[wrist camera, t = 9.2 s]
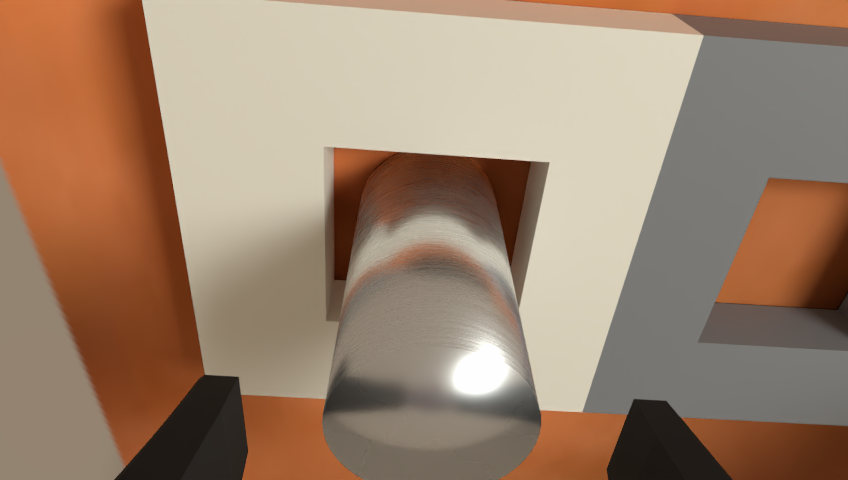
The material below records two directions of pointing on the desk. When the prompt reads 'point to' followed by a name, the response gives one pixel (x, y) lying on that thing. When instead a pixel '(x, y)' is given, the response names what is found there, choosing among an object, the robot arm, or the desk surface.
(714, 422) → the desk surface
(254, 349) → the dock board
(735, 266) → the desk surface
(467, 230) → the steel peg
